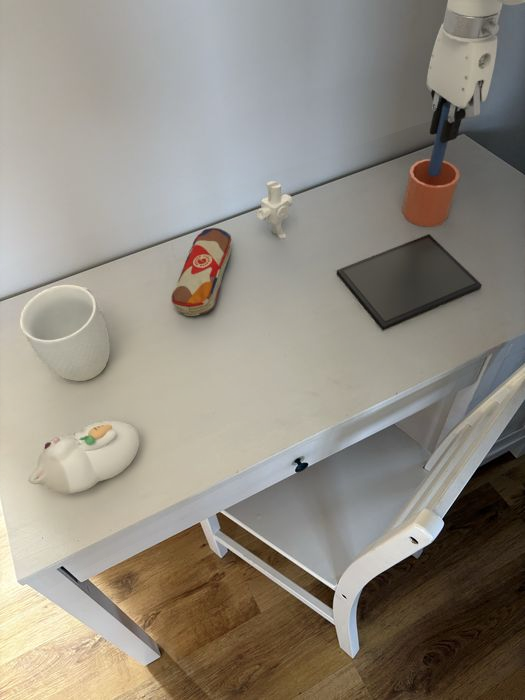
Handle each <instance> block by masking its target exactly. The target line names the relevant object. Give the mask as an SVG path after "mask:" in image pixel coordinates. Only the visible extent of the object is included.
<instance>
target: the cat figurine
mask: <svg viewBox="0 0 525 700" xmlns="http://www.w3.org/2000/svg"><path fill="white" fill-rule="evenodd" d="M139 449H140V435H139V432H138V430H137V429H136V428H135V427H133V426H132V425H131V424H129V423H126V422H123V421H119V420H103V421H97V422H93V423H91V424H88V425H86V426H85V427H83V428H81V429H79V430H78V431H77V432H76V433H75V434H64V435H59V436H56V437H54V438H53V439H52V440H51V441H50V442H49V441H48V442H46V443H45V444H44V449H43V450H42V451H41V453H40V455H39V457H38V460H37V465H36V467H35V469H33V471H32V472H31V474H30V475H29V476H28V482H29V484H32V485H41V486H45V487H46V488H47V489H49V490H51V491H52V492H54V493H57V494H58V493H59V494H65V495H66V494H67V495H68V494H75V493H80V492H85V491H88V490H89V489H91V488H92V487H94V486H95V485H96V484H98V483H99V482H102V481H105V480H109V479H111V478H114V477H115V476H118V475H119V474H121V473H122V472H124V471H125V470H126V469H127V468H128V467H129V466H130V465H131V463H132V462H133V461H134V459H135V458H136V456H137V453H138V451H139Z"/></svg>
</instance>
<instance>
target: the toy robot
mask: <svg viewBox="0 0 525 700" xmlns="http://www.w3.org/2000/svg"><path fill="white" fill-rule="evenodd" d="M266 187H267V196H266V197H264V198H262V199H261V200H260V208H258V210H257V211H256V217H257V219H258V220H259V221H265V220H267V221H268V225H269V227H270V230H271V233H272V234H273V235H276V236H277V237H278V238H279V239H285V238H286V237H287V235H286V234H285V233H284V230H283V227H282V226H283V220H285V219H286V218H288V217H289V215H290V214H289V213H290V211H289V207H291V206H292V204H293V198H292V196H291V195H290V194H287V193H284V194H282V185H281V183H279V182H277V181H275V180H273V181H271V180H270V181H268V182H267V183H266ZM281 194H282V195H281Z"/></svg>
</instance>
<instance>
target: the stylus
mask: <svg viewBox="0 0 525 700" xmlns="http://www.w3.org/2000/svg"><path fill="white" fill-rule="evenodd" d="M450 106H451V102H446V103H444V104H443V107H442V112H441V116H440V120H439V125H438V129H437V133H436V134H435V139H434V142H433V147H432V151H431V156H430V158H429V159H430V164H429V168H428V174H429V175H430V176H438V175H439V174H440V171H441V167H442V163H443V160H444V159H445V154H446V150H447V147H448V143H449V141H448V142H445V143H441V142H440V137H441V133H442V128H443V124H444V121H445V120H447V119H448V115H449V110H450Z"/></svg>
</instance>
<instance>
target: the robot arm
mask: <svg viewBox="0 0 525 700" xmlns="http://www.w3.org/2000/svg"><path fill="white" fill-rule="evenodd" d="M524 3H525V0H447V3H446V7H445V13H444V17H443V23H441V24H440V25H441V26H440V28H439V30H438V33H437V36H436V39H435V42H434V45H433V49H432V51H431V56H430V61H429V65H428V70H427V76H426V81H425V83H426V84H425V86H426V87H427V89H428V90H429V92H430V95H431V100H432V105H431V109H432V111H433V114H432V118H431V123H430V127H429V134H430V135H433V136H434V135H436V133H437V129H438V125H439V120H440V116H441V112H442V107H443V104H444V103H446V102H451V106H450V110H449V115H448V119H447V120H445V121H444V124H443V128H442V133H441V137H440V142H441V143H445V142H448V143H449V142H451V141H454V140H456V139H457V138H458V135H459V132H460V127H461V124H462V120H463V119H466V118H468V119H472V118H476V117H479V116H480V115H481V103H484V102H486V99H487V97H488V94H489V91H490V87H491V83H492V79H493V74H494V70H495V65H496V59H497V52H498V51H497V49H498V36H497V35H496V34H498V32H499V31H500V25H499V24H498V23H499V19H500V15H501V12H502V7H503V5H506V6H517V5H521V4H524ZM458 109H459V110H458Z"/></svg>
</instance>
